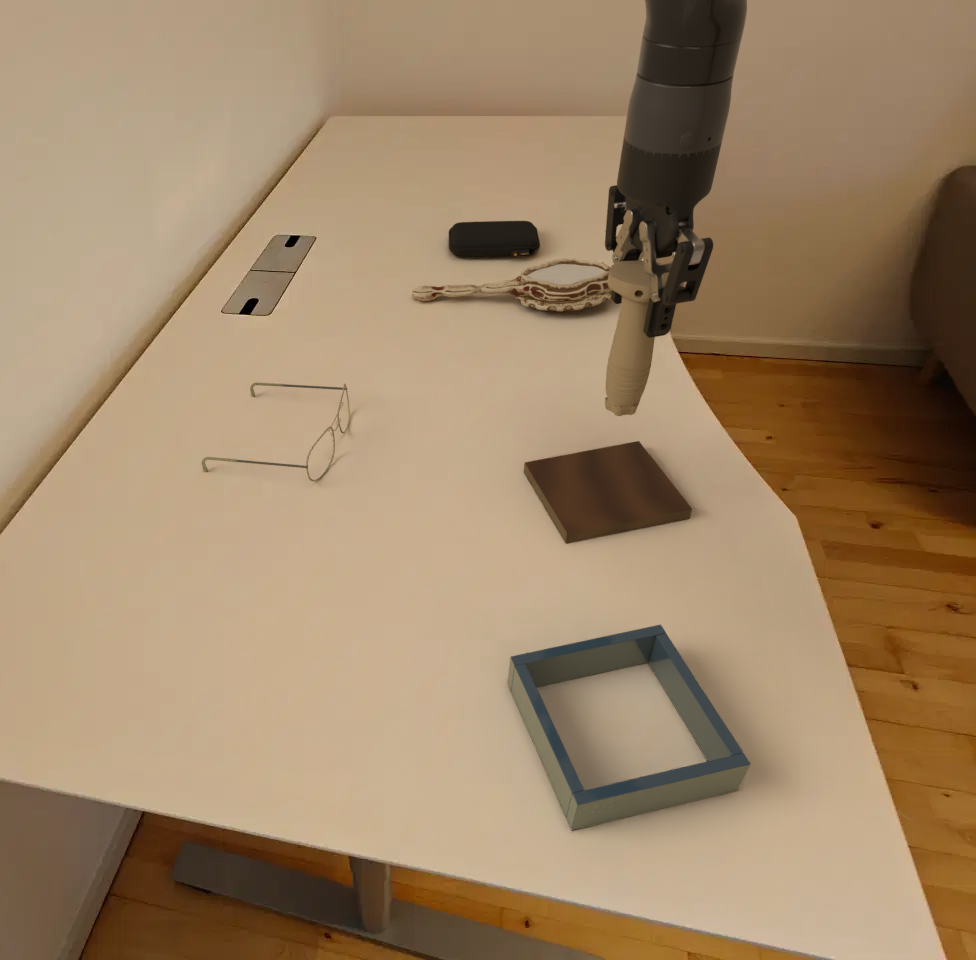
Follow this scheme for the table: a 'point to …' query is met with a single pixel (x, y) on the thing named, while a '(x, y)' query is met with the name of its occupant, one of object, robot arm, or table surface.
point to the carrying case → (493, 239)
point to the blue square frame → (642, 792)
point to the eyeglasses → (314, 443)
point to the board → (605, 491)
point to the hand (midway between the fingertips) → (638, 316)
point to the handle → (629, 338)
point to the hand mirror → (541, 286)
